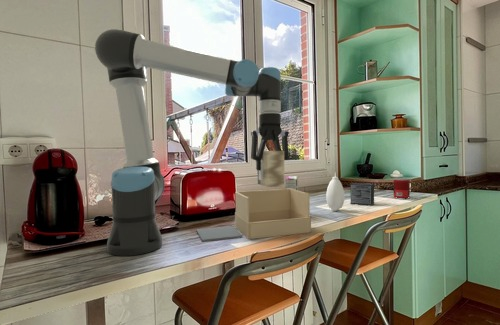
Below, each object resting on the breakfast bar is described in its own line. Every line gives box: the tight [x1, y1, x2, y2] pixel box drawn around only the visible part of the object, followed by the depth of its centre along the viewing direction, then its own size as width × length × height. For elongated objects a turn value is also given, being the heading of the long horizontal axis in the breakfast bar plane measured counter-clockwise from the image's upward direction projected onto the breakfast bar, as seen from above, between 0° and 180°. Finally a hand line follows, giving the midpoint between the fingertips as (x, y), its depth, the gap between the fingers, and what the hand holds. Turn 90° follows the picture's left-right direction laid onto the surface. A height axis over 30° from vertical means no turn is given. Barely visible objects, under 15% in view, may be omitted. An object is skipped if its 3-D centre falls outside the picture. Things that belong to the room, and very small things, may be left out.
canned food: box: [393, 177, 411, 199], centre depth 168 cm, size 8×8×11 cm
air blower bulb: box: [325, 171, 345, 212], centre depth 136 cm, size 8×8×18 cm
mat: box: [196, 225, 243, 243], centre depth 101 cm, size 13×13×1 cm
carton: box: [234, 188, 312, 240], centre depth 106 cm, size 23×16×13 cm
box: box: [257, 150, 285, 188], centre depth 105 cm, size 6×10×12 cm, turn 18°
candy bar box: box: [285, 175, 299, 191], centre depth 128 cm, size 11×5×16 cm, turn 168°
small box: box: [350, 182, 375, 206], centre depth 151 cm, size 11×6×10 cm, turn 58°
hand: (269, 179), depth 106 cm, fingers closed on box, 6 cm apart
